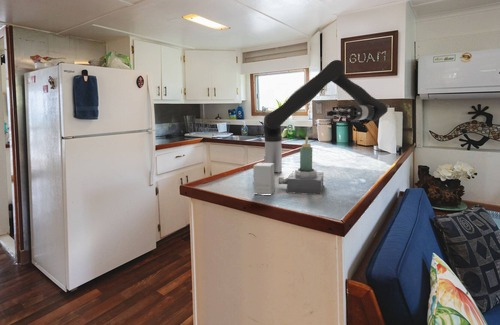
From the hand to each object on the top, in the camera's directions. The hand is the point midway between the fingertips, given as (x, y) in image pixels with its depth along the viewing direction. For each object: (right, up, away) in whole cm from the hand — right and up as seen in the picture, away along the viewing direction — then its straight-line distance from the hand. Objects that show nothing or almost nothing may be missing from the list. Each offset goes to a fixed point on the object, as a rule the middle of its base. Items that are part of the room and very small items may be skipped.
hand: (334, 113), depth 147 cm
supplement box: (-34, -36, -15) cm, 52 cm away
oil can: (-15, -28, -11) cm, 34 cm away
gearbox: (-18, -35, -9) cm, 40 cm away
